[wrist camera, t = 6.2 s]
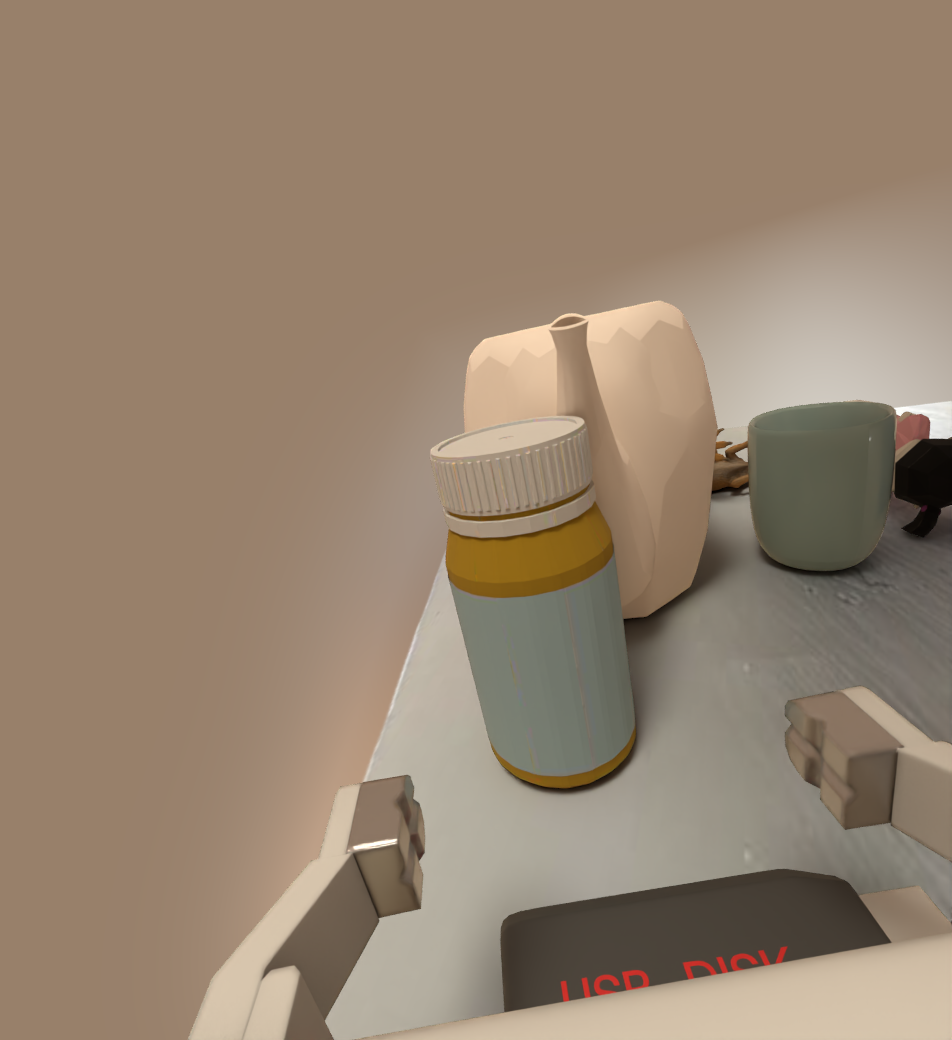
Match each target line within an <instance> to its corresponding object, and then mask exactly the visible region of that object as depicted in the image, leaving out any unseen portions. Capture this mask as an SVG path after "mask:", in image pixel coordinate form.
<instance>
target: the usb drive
mask: <svg viewBox="0 0 952 1040" xmlns="http://www.w3.org/2000/svg"><path fill="white" fill-rule="evenodd" d="M949 932H952V924H951V923H950V922H949V921H948V919H947V918H946V917H945V916H944V915H943V913H942V912H941V911H940V910H939V909H938V907H937V906H936V905H935V904H934V903H933V902H932V900H931V899H930V898H929V897H928V896H927V894H926V893H925V892H924V891H923V890H922V888H920V887H919V886H912V887H906V888H899V889H893V890H887V891H880V892H874V893H868V894H862V895H858V894H857V893H856V892H855V890H854V889H853V888H852V886H851V885H850V884H849V883H848V882H846V881H845V880H842V879H840V878H838V877H836V876H831V875H824V874H817V873H810V872H804V871H797V870H789V869H775V870H768V871H762V872H756V873H749V874H743V875H737V876H731V877H725V878H719V879H713V880H706V881H700V882H694V883H688V884H682V885H676V886H669V887H663V888H657V889H651V890H645V891H639V892H633V893H626V894H620V895H614V896H608V897H602V898H596V899H590V900H583V901H577V902H571V903H565V904H559V905H553V906H547V907H540V908H535V909H530V910H525V911H520V912H517V913H515V914H512V915H509V916H508V917H507V918H506V919H505V920H504V921H503V923H502V926H501V940H500V941H501V960H502V977H503V994H504V1012H510V1011H516V1010H521V1009H527V1008H532V1007H538V1006H544V1005H549V1004H555V1003H560V1002H566V1001H571V1000H577V999H583V998H588V997H594V996H599V995H605V994H610V993H616V992H622V991H627V990H633V989H638V988H644V987H649V986H655V985H661V984H666V983H672V982H677V981H683V980H688V979H694V978H700V977H705V976H711V975H716V974H722V973H727V972H733V971H738V970H744V969H750V968H755V967H761V966H766V965H772V964H777V963H783V962H788V961H794V960H799V959H805V958H811V957H816V956H822V955H827V954H833V953H838V952H844V951H849V950H855V949H860V948H866V947H872V946H877V945H883V944H888V943H894V942H899V941H905V940H910V939H916V938H922V937H927V936H933V935H938V934H944V933H949Z"/></svg>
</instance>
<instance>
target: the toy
mask: <svg viewBox="0 0 952 1040" xmlns="http://www.w3.org/2000/svg"><path fill="white" fill-rule="evenodd" d="M844 402H869V401H862V400H853V401H844ZM929 432H930V421H929V418H928V417H926V416H924V415H922V414H918V415H916V414H913V413H910V412H904V413H903V414H902V415H901V417H900V416H898V415H897V437H896V451H895V464H894V475H893V485H892V492H894V494H895V496H896V498H899V499H902V500H904V501H907V502H909V503H912V504H913V505H914V508H915V509H918V508H919V506H920V507H922V508H921V510H920V512H919V514H918V515H917V517H916V518H915V519H914V520H913V521H912V522H911V523H909V524H908V525H906V526H904V527H903V528H901V529H903V530H905V531H907V532H908V533H910V534H913V535H917V536H920V537H925V536H926V535H927V534H928V533H929V532H930V531H931V530H932V529H933V528H934V526H935V525H936V523H937V519H938V516H939V515H940V513H941V509H940V508H943V507H946V506H949V505H952V437H951V438H948V439H929Z"/></svg>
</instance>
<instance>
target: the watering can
mask: <svg viewBox="0 0 952 1040" xmlns="http://www.w3.org/2000/svg"><path fill="white" fill-rule="evenodd" d="M548 416H575V417H580V418H582V419H583V420H584V422H585V424H586V426H587V430H588V438H589V445H590V453H591V460H592V468H593V474H592V481H593V483H594V487H595V494H596V499H595V502H596V503H597V505H598V507H599V509H600V511H601V513H602V515H603V516H604V518H605V520H606V522H607V524H608V526H609V528H610V530H611V534H612V542H613V544H614V552H615V560H616V568H617V576H618V584H619V592H620V600H621V608H622V616H623V619H626V618H637V617H647V616H648V615H650V614H651V613H653V612H654V611H656V610H657V609H659V608H660V607H662V606H663V605H665V604H666V603H668V602H669V601H671V600H672V599H673V598H675V597H676V596H678V595H679V594H680V593H682V592H683V591H685V590H686V589H687V588H689V587H690V586H691V584H692V581H693V579H694V576H695V574H696V571H697V567H698V564H699V560H700V556H701V553H702V549H703V545H704V542H705V538H706V534H707V531H708V522H709V512H710V501H711V491H712V480H713V470H714V459H715V449H716V438H717V428H718V427H717V422H716V417H715V412H714V407H713V401H712V396H711V392H710V387H709V383H708V379H707V374H706V370H705V365H704V361H703V358H702V356H701V353H700V351H699V349H698V346H697V343H696V341H695V339H694V336H693V334H692V331H691V328H690V326H689V324H688V322H687V321H686V319H685V317H684V315H683V313H682V312H681V311H679V310H678V309H677V308H676V307H674V306H673V305H671V304H668V303H665V302H662V301H654V302H649V303H644V304H639V305H635V306H630V307H626V308H621V309H616V310H611V311H607V312H603V313H598V314H593V315H589V316H582V315H579V314H575V313H573V314H565V315H563V316H560V317H559V318H557V319H556V320H555V321H554V322H553V323H552V324H549V325H544V326H540V327H535V328H530V329H526V330H522V331H517V332H513V333H508V334H504V335H499V336H495V337H491V338H487V339H484V340H483V341H482V342H481V343H480V344H479V345H478V346H477V347H476V348H475V349H474V351H473V352H472V354H471V356H470V357H469V362H468V367H467V372H466V384H465V396H464V421H465V422H464V423H465V433H467V432H470V431H473V430H477V429H481V428H485V427H489V426H493V425H497V424H502V423H507V422H512V421H518V420H524V419H530V418H538V417H548Z"/></svg>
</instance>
